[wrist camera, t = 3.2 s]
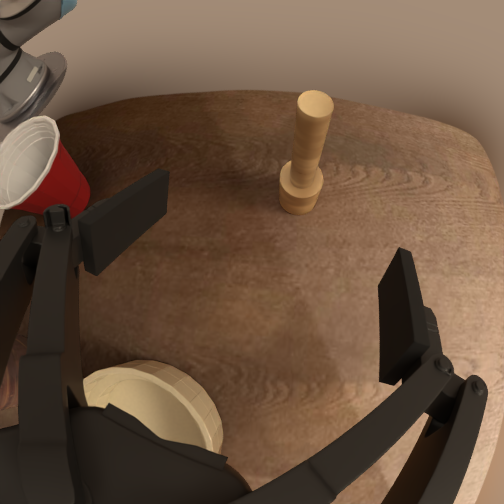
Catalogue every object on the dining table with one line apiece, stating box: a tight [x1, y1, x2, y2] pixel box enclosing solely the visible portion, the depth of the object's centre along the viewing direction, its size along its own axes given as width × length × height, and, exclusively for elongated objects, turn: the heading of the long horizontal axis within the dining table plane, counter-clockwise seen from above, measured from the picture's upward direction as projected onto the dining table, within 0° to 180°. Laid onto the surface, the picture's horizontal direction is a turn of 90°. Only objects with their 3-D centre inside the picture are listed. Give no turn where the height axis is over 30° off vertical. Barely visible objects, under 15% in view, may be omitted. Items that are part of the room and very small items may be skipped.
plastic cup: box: [0, 116, 90, 219], centre depth 28 cm, size 11×11×12 cm
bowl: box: [83, 360, 223, 454], centre depth 26 cm, size 15×15×6 cm
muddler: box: [279, 90, 334, 215], centre depth 24 cm, size 4×4×16 cm
